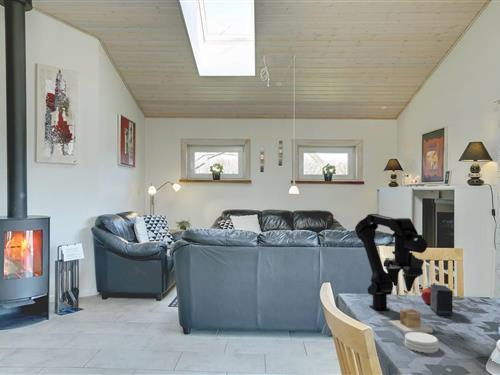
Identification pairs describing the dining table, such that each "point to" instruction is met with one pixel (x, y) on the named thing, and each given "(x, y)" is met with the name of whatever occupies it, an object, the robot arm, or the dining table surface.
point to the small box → (441, 300)
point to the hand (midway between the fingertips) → (402, 288)
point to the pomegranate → (427, 294)
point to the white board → (413, 329)
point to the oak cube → (410, 318)
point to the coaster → (421, 342)
